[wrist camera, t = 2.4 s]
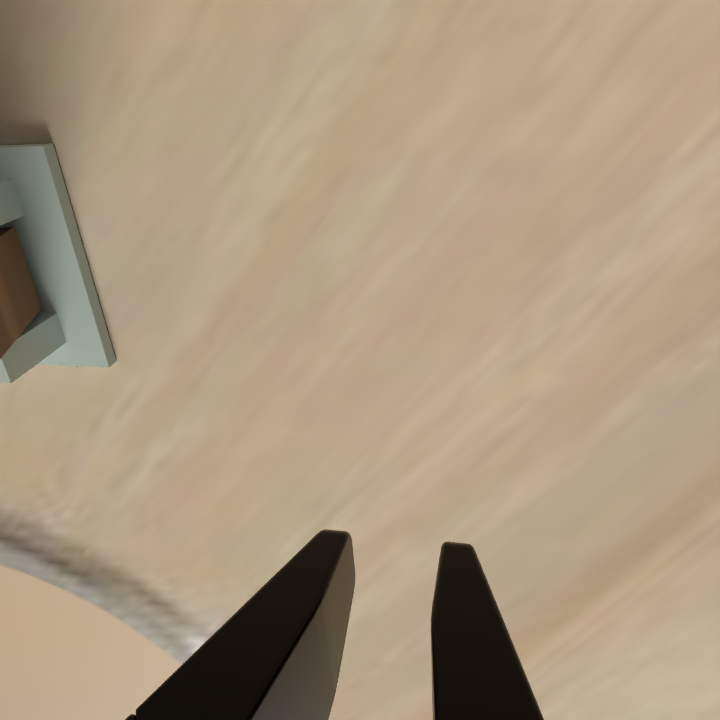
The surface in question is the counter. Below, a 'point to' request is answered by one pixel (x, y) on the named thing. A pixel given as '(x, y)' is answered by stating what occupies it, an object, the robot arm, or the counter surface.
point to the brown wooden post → (14, 290)
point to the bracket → (50, 266)
